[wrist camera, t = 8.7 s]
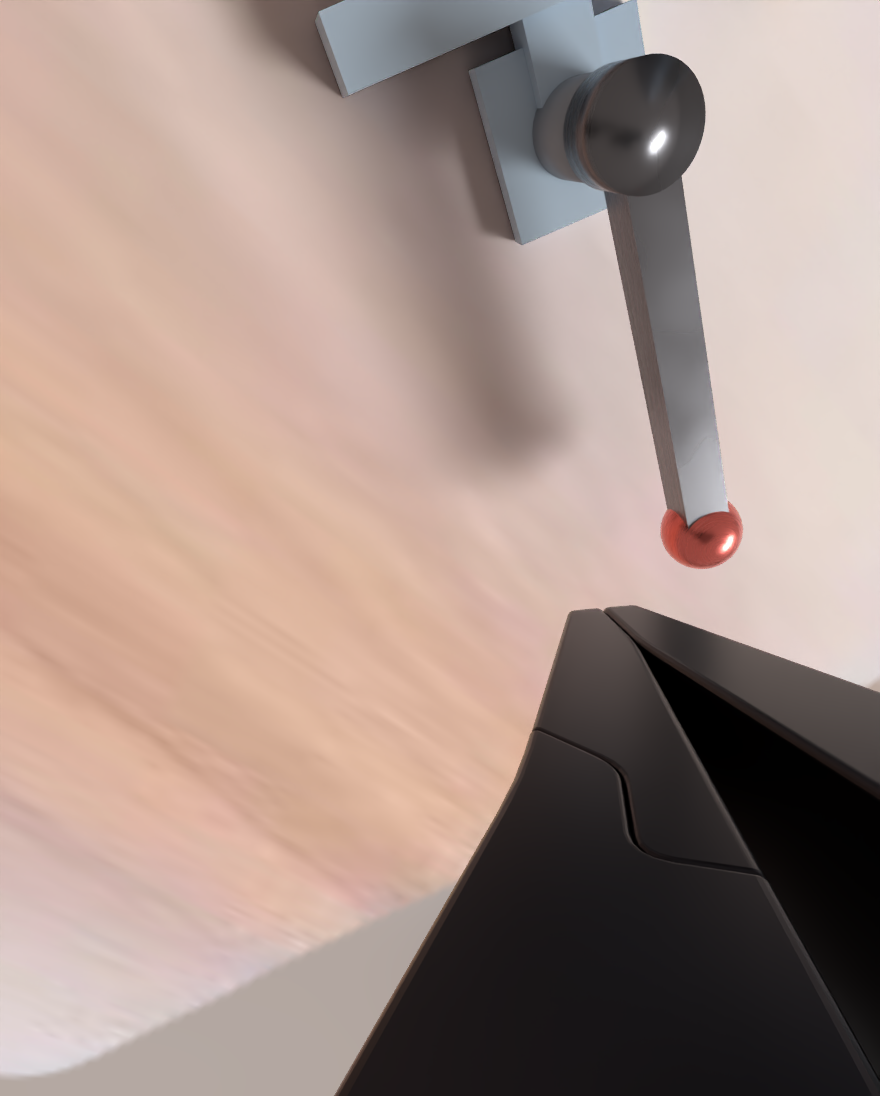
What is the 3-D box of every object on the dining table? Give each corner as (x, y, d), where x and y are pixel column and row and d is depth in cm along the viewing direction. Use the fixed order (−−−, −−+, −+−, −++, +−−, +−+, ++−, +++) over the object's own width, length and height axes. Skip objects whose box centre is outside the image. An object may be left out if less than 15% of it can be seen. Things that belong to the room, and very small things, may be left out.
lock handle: (545, 89, 15) (585, 82, 13) (651, 42, 15) (706, 30, 13) (651, 556, 21) (686, 596, 20) (723, 526, 21) (765, 563, 20)
